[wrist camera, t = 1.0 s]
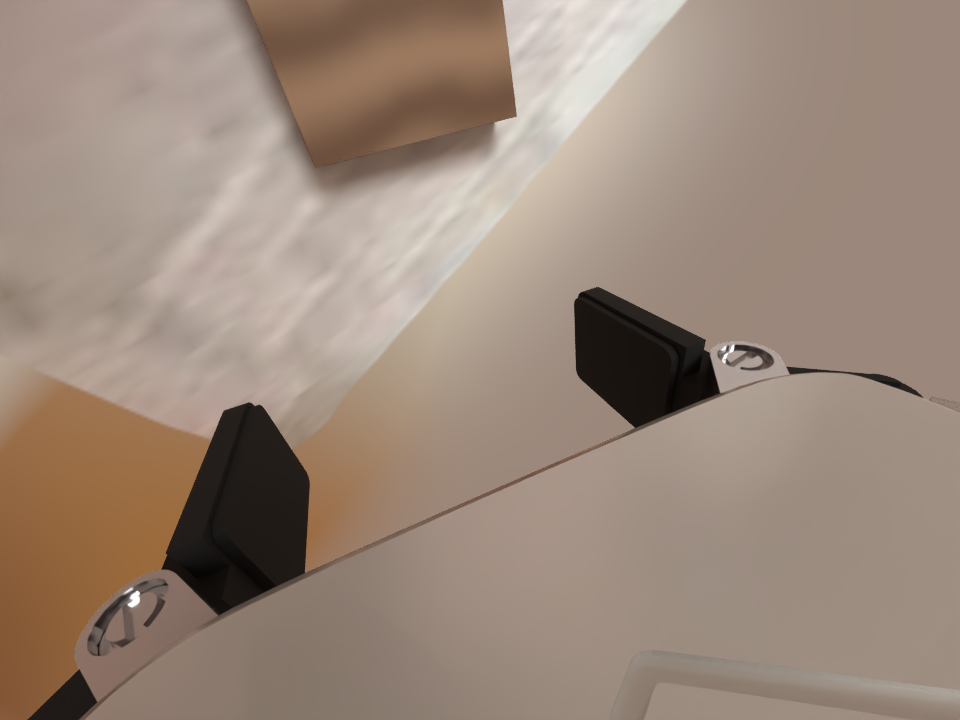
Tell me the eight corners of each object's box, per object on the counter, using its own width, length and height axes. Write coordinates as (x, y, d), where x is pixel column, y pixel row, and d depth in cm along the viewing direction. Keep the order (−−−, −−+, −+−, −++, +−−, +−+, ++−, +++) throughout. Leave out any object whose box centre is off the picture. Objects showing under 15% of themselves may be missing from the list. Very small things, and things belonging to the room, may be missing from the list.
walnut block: (193, -139, 21) (160, -209, 17) (449, -162, 24) (474, -228, 20) (317, 166, 30) (315, 167, 26) (493, 121, 33) (516, 116, 29)
